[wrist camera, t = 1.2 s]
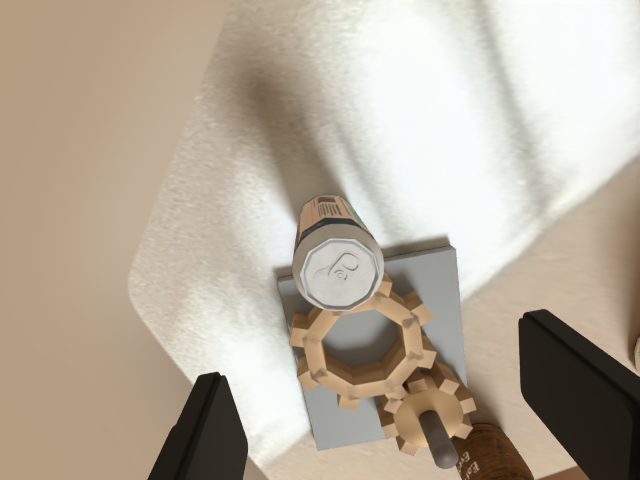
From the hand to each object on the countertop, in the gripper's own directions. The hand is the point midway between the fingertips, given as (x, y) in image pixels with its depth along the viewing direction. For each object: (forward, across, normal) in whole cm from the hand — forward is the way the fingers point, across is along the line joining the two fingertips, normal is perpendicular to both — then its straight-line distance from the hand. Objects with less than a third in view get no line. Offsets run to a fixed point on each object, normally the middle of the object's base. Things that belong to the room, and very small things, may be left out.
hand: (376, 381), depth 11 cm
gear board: (+18, -2, +12) cm, 22 cm away
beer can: (+19, 0, -1) cm, 19 cm away
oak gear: (+17, 0, +9) cm, 20 cm away
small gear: (+17, -5, +17) cm, 25 cm away
